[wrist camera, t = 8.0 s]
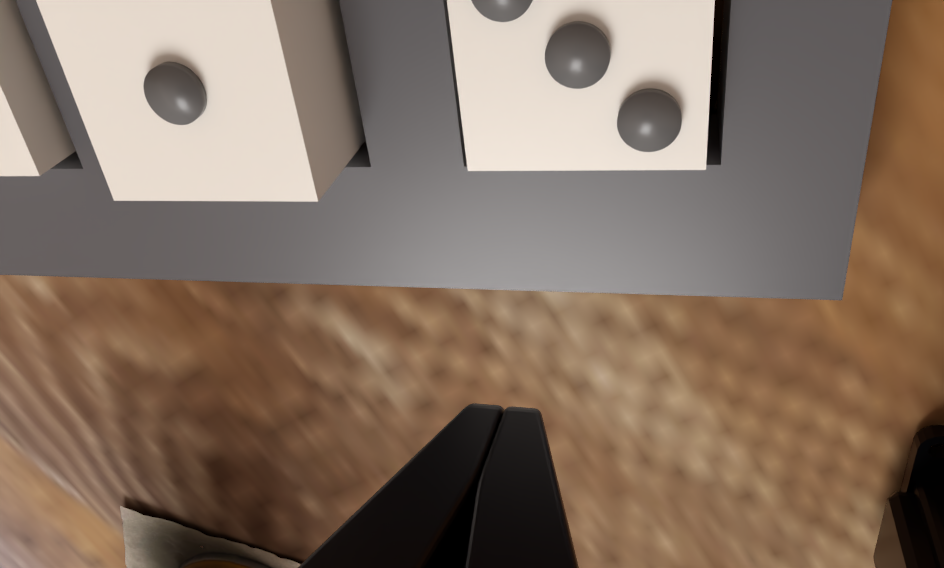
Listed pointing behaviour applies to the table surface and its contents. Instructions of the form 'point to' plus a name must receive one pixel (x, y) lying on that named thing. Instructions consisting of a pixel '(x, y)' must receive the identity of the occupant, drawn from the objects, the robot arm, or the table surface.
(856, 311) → the table surface
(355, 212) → the button panel
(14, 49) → the tile two dots
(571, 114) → the tile three dots
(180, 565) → the condiment
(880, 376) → the table surface
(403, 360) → the table surface
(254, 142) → the tile one dot
